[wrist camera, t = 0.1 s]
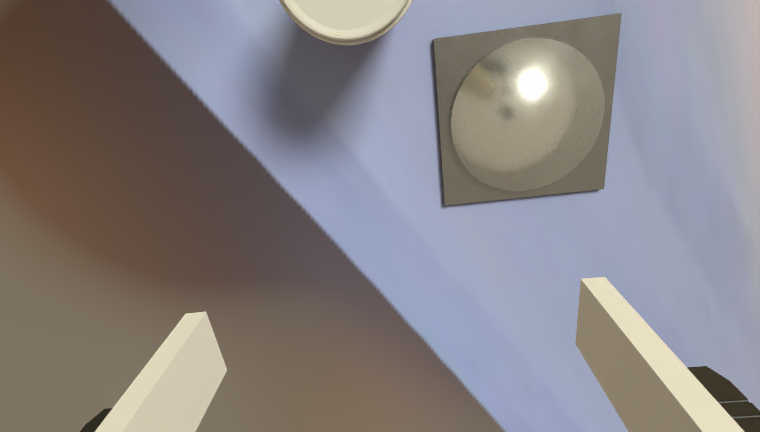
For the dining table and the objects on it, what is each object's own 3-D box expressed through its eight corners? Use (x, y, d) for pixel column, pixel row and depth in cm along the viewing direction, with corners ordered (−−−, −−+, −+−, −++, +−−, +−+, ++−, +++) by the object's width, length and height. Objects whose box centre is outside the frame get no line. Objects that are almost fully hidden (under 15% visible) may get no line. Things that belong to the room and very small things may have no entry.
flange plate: (433, 39, 36) (434, 39, 35) (618, 13, 34) (625, 12, 33) (444, 203, 42) (445, 208, 41) (601, 187, 41) (607, 191, 40)
